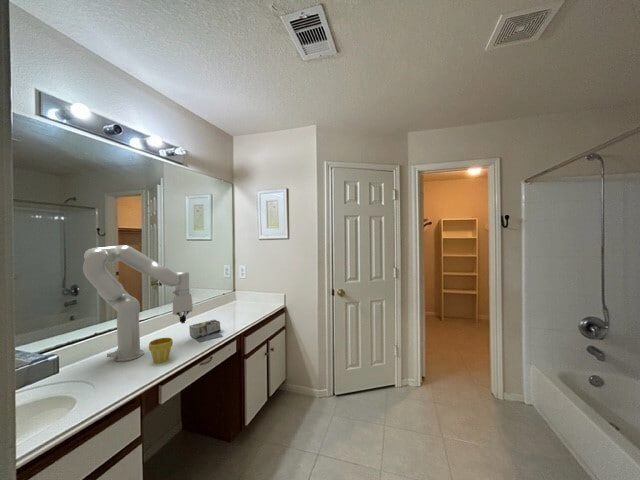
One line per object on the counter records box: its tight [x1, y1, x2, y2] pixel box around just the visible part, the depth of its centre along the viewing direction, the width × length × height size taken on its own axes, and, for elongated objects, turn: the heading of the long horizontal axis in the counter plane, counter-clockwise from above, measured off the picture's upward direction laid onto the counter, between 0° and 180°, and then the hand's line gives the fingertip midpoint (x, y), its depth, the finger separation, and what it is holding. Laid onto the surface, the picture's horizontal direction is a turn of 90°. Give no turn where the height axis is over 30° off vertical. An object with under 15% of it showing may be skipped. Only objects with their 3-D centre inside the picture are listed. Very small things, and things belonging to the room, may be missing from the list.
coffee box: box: [188, 319, 222, 339], centre depth 172 cm, size 9×6×16 cm
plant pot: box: [148, 337, 174, 364], centre depth 136 cm, size 10×10×10 cm
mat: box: [194, 332, 224, 343], centre depth 170 cm, size 14×20×1 cm
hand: (182, 322), depth 162 cm, fingers closed
